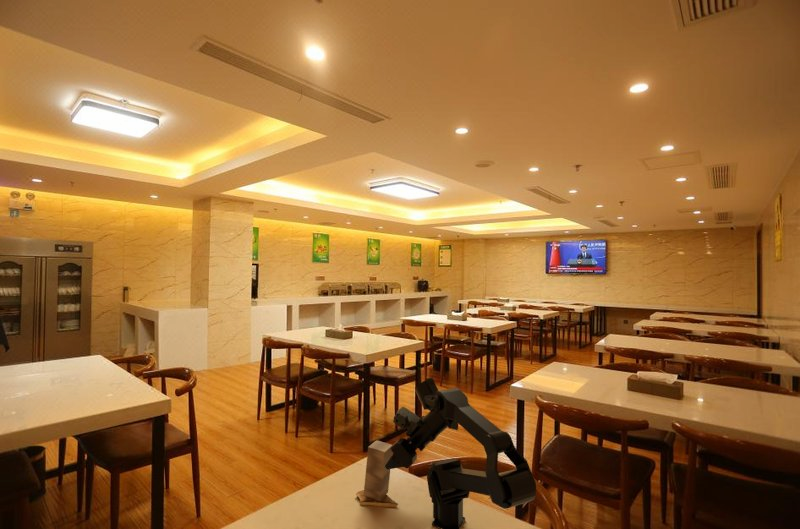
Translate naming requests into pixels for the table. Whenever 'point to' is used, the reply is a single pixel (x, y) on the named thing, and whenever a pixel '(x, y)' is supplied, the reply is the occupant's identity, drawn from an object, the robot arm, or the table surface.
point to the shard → (369, 501)
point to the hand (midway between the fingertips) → (392, 459)
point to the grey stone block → (377, 470)
